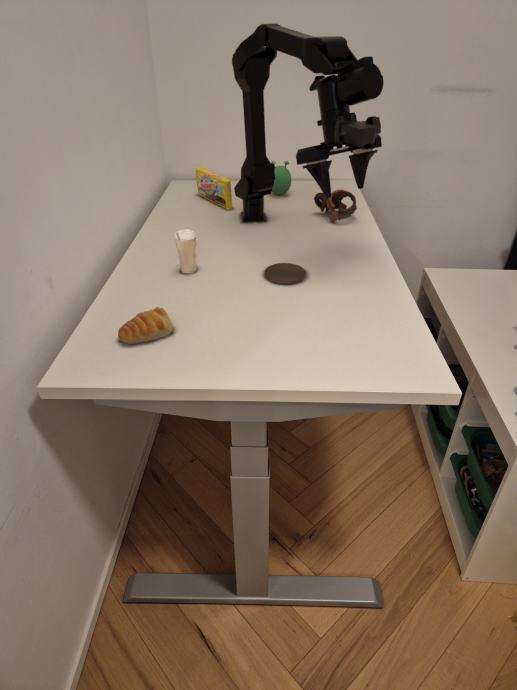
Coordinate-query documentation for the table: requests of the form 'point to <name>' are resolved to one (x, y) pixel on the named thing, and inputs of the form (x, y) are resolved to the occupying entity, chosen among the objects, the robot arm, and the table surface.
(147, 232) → the table surface
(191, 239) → the milkshake
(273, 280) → the coaster
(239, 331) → the table surface
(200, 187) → the candy box
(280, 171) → the alien toy
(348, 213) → the brown coiled strap
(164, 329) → the pastry
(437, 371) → the table surface
